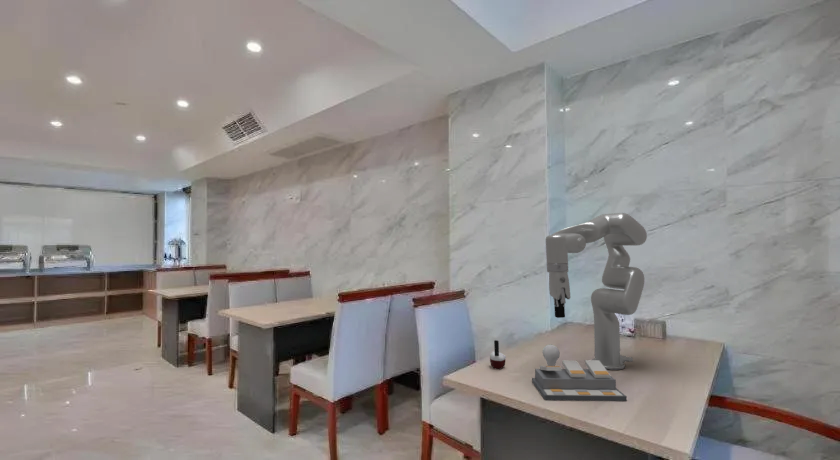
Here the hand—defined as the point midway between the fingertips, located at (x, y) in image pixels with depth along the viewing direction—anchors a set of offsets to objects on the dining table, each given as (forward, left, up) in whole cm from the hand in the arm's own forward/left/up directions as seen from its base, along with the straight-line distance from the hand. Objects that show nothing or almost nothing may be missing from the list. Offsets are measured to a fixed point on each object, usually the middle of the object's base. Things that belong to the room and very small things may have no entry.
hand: (559, 317), depth 142 cm
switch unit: (-2, +10, -23) cm, 25 cm away
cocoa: (+21, -14, -24) cm, 34 cm away
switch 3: (-10, +8, -17) cm, 21 cm away
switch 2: (-2, +8, -17) cm, 19 cm away
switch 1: (+6, +8, -17) cm, 20 cm away
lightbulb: (+1, -8, -23) cm, 25 cm away
